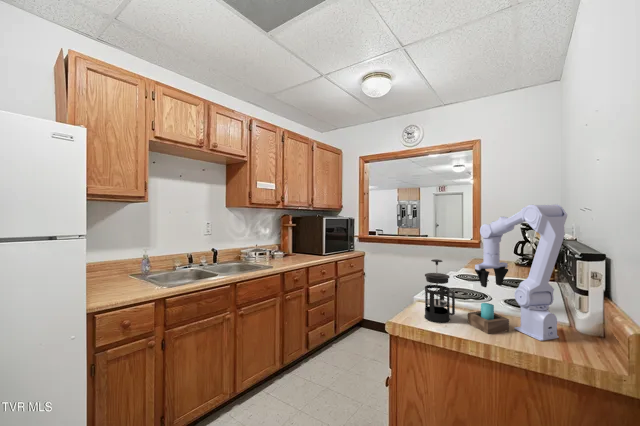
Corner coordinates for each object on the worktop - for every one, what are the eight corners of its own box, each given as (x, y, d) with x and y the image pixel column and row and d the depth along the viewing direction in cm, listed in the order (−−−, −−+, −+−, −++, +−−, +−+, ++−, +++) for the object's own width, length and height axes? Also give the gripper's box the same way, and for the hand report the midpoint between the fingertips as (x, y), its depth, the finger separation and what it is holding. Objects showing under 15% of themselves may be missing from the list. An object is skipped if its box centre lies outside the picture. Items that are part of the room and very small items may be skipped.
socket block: (509, 330, 98) (509, 319, 98) (487, 333, 95) (487, 322, 95) (487, 320, 106) (487, 310, 106) (467, 323, 104) (467, 312, 104)
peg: (496, 328, 99) (496, 306, 99) (486, 329, 99) (486, 307, 99) (487, 323, 103) (487, 302, 103) (478, 325, 103) (478, 303, 102)
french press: (418, 317, 110) (417, 259, 109) (429, 311, 116) (429, 256, 116) (448, 327, 101) (448, 263, 101) (459, 319, 108) (458, 260, 107)
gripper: (497, 250, 121) (497, 282, 121) (469, 252, 117) (469, 284, 118) (512, 253, 114) (512, 286, 115) (482, 255, 111) (483, 289, 111)
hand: (491, 285), depth 116 cm, fingers open, 7 cm apart
